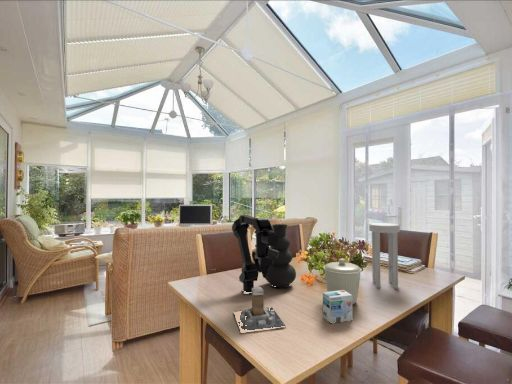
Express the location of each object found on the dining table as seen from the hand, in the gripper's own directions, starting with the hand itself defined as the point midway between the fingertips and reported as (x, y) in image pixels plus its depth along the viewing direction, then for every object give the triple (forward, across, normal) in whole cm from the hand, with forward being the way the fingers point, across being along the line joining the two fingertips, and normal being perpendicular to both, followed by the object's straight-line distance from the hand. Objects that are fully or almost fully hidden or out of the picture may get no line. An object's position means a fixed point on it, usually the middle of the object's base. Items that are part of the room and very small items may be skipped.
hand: (262, 275), depth 134 cm
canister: (+13, -10, -38) cm, 41 cm away
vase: (+13, +20, -16) cm, 29 cm away
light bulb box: (+13, -26, -26) cm, 39 cm away
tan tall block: (+12, -19, +7) cm, 24 cm away
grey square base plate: (+13, -19, +7) cm, 24 cm away
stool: (+13, +6, -75) cm, 76 cm away
